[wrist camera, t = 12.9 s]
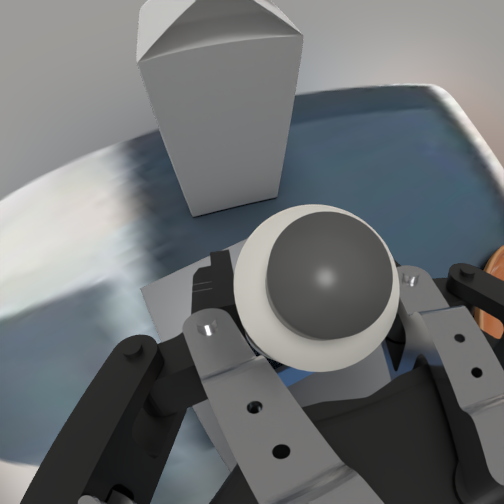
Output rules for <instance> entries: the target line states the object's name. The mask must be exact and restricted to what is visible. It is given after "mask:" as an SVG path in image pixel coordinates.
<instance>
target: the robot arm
mask: <svg viewBox="0 0 504 504" xmlns="http://www.w3.org/2000/svg"><path fill="white" fill-rule="evenodd" d="M393 260H394V259H393ZM210 261H211V266H206V267H201V268H198V270H197V271H196V272H195V274H194V275H193V283H192V284H193V286H192V303H191V316H189V317H188V318H187V319H186V320H185V322H184V324H183V327H182V330H183V332H182V333H181V334H179V335H178V336H176V337H174V338H172V339H169V340H167V341H164V342H162V343H159V344H157V343H156V341H155V340H154V339H153V338H152V337H150V336H148V335H135V336H131V337H128V338H126V339H124V340H123V341H121V342H120V343H119V344H118V345H117V346H116V347H115V348H114V349H113V351H112V352H111V354H110V355H109V357H108V358H107V360H106V361H105V363H104V364H103V366H102V367H101V369H100V370H99V372H98V373H97V375H96V376H95V378H94V379H93V381H92V382H91V384H90V385H89V387H88V388H87V390H86V391H85V393H84V394H83V396H82V397H81V399H80V401H79V402H78V404H77V405H76V407H75V408H74V410H73V412H72V413H71V415H70V416H69V418H68V420H67V421H66V423H65V424H64V426H63V428H62V429H61V431H60V433H59V434H58V436H57V438H56V439H55V441H54V443H53V444H52V446H51V448H50V450H49V451H48V453H47V455H46V456H45V458H44V460H43V462H42V463H41V465H40V467H39V469H38V471H37V473H36V474H35V476H34V478H33V480H32V482H31V483H30V485H29V487H28V489H27V491H26V493H25V495H24V497H23V499H22V501H21V503H20V504H150V502H151V499H152V497H153V494H154V492H155V489H156V487H157V484H158V482H159V479H160V477H161V474H162V472H163V469H164V466H165V464H166V461H167V459H168V456H169V454H170V451H171V449H172V446H173V444H174V441H175V439H176V436H177V434H178V431H179V429H180V426H181V423H182V421H183V418H184V416H185V413H186V410H187V408H188V407H191V406H193V405H196V404H198V403H200V402H203V401H205V400H207V399H209V402H210V404H211V406H212V409H213V411H214V413H215V416H216V418H217V420H218V422H219V425H220V427H221V429H222V431H223V433H224V436H225V438H226V440H227V442H228V444H229V446H230V448H231V450H232V452H233V455H234V457H235V459H236V461H237V464H236V466H235V467H234V469H233V470H232V472H231V473H230V475H229V476H228V478H227V479H226V480H225V482H224V483H223V485H222V486H221V488H220V489H219V491H218V492H217V493H216V495H215V496H214V498H213V499H212V500H211V502H210V503H209V504H504V331H503V334H502V336H501V338H500V339H497V338H495V337H493V336H491V335H490V334H488V333H487V332H485V331H483V330H482V329H480V328H479V326H478V325H477V323H476V322H475V320H474V318H473V314H474V311H475V308H476V307H478V308H479V309H481V310H483V311H485V312H486V313H488V314H490V315H491V316H493V317H495V318H497V319H498V320H500V321H501V323H502V324H503V328H504V281H503V280H501V279H499V278H497V277H495V276H493V275H491V274H489V273H487V272H485V271H483V270H481V269H479V268H477V267H475V266H472V265H469V264H464V263H458V264H454V265H452V266H451V267H450V269H449V273H448V278H436V279H431V277H430V276H429V274H428V273H427V272H426V271H424V270H423V269H421V268H418V267H415V266H401V265H400V264H398V263H397V262H396V261H395V260H394V262H395V265H396V269H397V273H398V278H399V304H398V309H397V313H396V317H395V319H394V322H393V324H392V327H391V328H390V330H389V332H388V334H387V336H386V337H385V338H384V340H383V341H382V342H381V345H382V349H383V352H384V356H385V359H386V363H387V367H388V370H389V374H390V378H391V382H389V383H388V384H386V385H385V386H384V387H382V388H381V389H379V390H378V391H376V392H375V393H373V394H372V395H370V396H368V397H364V398H357V399H347V400H336V401H324V402H320V403H316V404H312V405H309V406H305V407H300V405H299V404H298V403H297V401H296V400H295V399H294V397H293V396H292V394H291V393H290V392H289V390H288V389H287V387H286V386H285V385H284V383H283V382H282V380H281V379H280V378H279V376H278V375H277V373H276V372H275V370H274V369H273V368H272V366H271V365H270V363H269V362H268V361H267V359H266V358H265V357H264V356H262V355H260V356H258V357H256V355H255V354H254V352H253V351H252V349H251V348H250V346H249V345H248V343H247V339H246V334H245V330H244V327H243V325H242V323H241V320H240V317H239V314H238V310H237V307H236V303H235V296H234V272H233V267H232V262H231V257H230V252H229V249H227V250H222V251H217V252H211V253H210Z"/></svg>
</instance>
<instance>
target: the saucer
mask: <svg viewBox="0 0 504 504" xmlns="http://www.w3.org/2000/svg"><path fill="white" fill-rule="evenodd" d="M483 271H485V272H487V273H489V274H491V275H493V276H495V277H497V278H499V279H501V280H503V281H504V245H503V246H502V247H500V248H499V249H498V250H497V251H496V252H495V253H494V254H493V255H492V256H491V257H490V259H489V260H488V262H487V264H486V266H485V268H484V270H483ZM474 320H475V322H476V323H477V325H478V326H479V328H480V329H482V330H483V331H485V332H487V333H488V334H490V335H491V336H493V337H495V338H497V339H500V338H501V336H502V334H503V331H504V328H503V324H502V323H501V321H500V320H498V319H497V318H495V317H493V316H491V315H490V314H488V313H486V312H485V311H483V310H481V309H479V308H478V307H476V308H475V313H474Z"/></svg>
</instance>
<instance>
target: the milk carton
mask: <svg viewBox="0 0 504 504" xmlns="http://www.w3.org/2000/svg"><path fill="white" fill-rule="evenodd" d="M302 46H303V34H302V33H301V32H300V31H299V30H298V28H297V27H296V26H295V25H294V24H293V23H292V22H291V21H290V20H289V19H288V18H287V17H286V16H285V14H284V13H282V12H281V10H280V9H278V7H277V6H276V5H275V4H274V3H273V2H272V1H271V0H147V1H146V3H145V4H144V5H143V6H142V7H141V9H140V13H139V24H138V37H137V55H136V56H137V57H136V62H137V65H138V68H139V71H140V74H141V78H142V81H143V84H144V87H145V90H146V92H147V95H148V98H149V101H150V104H151V107H152V110H153V113H154V116H155V119H156V121H157V124H158V127H159V130H160V133H161V135H162V138H163V141H164V144H165V146H166V149H167V152H168V155H169V157H170V160H171V163H172V165H173V168H174V171H175V173H176V176H177V178H178V181H179V184H180V186H181V189H182V191H183V194H184V197H185V199H186V202H187V204H188V207H189V209H190V212H191V214H192V216H193V217H195V216H199V215H203V214H207V213H211V212H215V211H219V210H223V209H227V208H231V207H236V206H240V205H244V204H248V203H253V202H257V201H261V200H266V199H270V198H275V197H277V195H278V190H279V184H280V178H281V173H282V167H283V161H284V156H285V150H286V144H287V138H288V133H289V127H290V121H291V115H292V109H293V103H294V97H295V91H296V84H297V78H298V72H299V66H300V60H301V53H302Z"/></svg>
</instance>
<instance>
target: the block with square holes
mask: <svg viewBox="0 0 504 504" xmlns="http://www.w3.org/2000/svg"><path fill="white" fill-rule="evenodd" d="M246 241H247V239H245V240H243V241H241V242H239V243H237V244H234V245H232V246H230V247H228V248H226V249H224V250H227V249H229V252H230V257H231V262H232V267H233V272H234V274H235V267H236V264H237V260H238V257H239V255H240V252H241V250H242V248H243V246H244V244H245V243H246ZM221 251H222V250H221ZM206 266H211V261H210V256H208V257H206V258H204V259H202V260H200V261H198V262H196V263H193V264H191V265H189V266H187V267H185V268H183V269H181V270H178V271H176V272H174V273H172V274H170V275H168V276H166V277H164V278H161V279H159V280H157V281H155V282H153V283H151V284H149V285H147V286H144V287H142V288H140V290H141V292H142V295H143V298H144V300H145V303H146V306H147V308H148V311H149V313H150V316H151V318H152V321H153V323H154V325H155V328H156V330H157V333H158V335H159V337H160V340H161V342H164V341H167V340H169V339H172V338H174V337H176V336H178V335H179V334H181V333H182V332H183V330H182V327H183V324H184V322H185V320H186V319H187V318H188V317H189V316H191V303H192V286H193V284H192V283H193V275H194V274H195V272H196V271H197V270H198V268H201V267H206ZM274 370H275V372H276V373H277V375H278V376H279V378H280V379H281V380H282V382H283V383H284V385H285V386H286V387H287V389H288V390H289V392H290V393H291V394H292V396H293V397H294V399H295V400H296V401H297V403H298V404H299V405H300V407H305V406H309V405H312V404H316V403H320V402H324V401H336V400H347V399H357V398H364V397H368V396H370V395H372V394H373V393H375V392H376V391H378V390H379V389H381V388H382V387H384V386H385V385H386V384H388V383H389V382H391V378H390V374H389V370H388V367H387V363H386V359H385V356H384V352H383V349H382V345H381V344H380V345H379V346H378V347H377V348H376V349H375V350H374V351H373V352H372V353H371V354H369V355H368V356H367V357H365V358H364V359H362V360H361V361H359V362H357V363H355V364H353V365H351V366H348V367H346V368H343V369H339V370H335V371H327V372H310V371H304V370H299V369H296V368H293V367H290V366H287V365H285V364H284V365H282V366H280V367H278V368H276V369H274ZM192 407H193V409H194V411H195V413H196V414H197V416H198V418H199V420H200V422H201V424H202V425H203V427H204V429H205V431H206V433H207V434H208V436H209V438H210V440H211V441H212V443H213V445H214V446H215V448H216V450H217V451H218V453H219V455H220V456H221V458H222V460H223V461H224V463H225V465H226V466H227V468H228V469H229V471H230V472H232V470H233V469H234V467H235V466H236V464H237V461H236V459H235V457H234V455H233V452H232V450H231V448H230V446H229V444H228V442H227V440H226V438H225V436H224V433H223V431H222V429H221V427H220V425H219V422H218V420H217V418H216V416H215V413H214V411H213V409H212V406H211V404H210V402H209V399H207V400H205V401H203V402H200V403H198V404H196V405H193V406H192Z"/></svg>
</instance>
